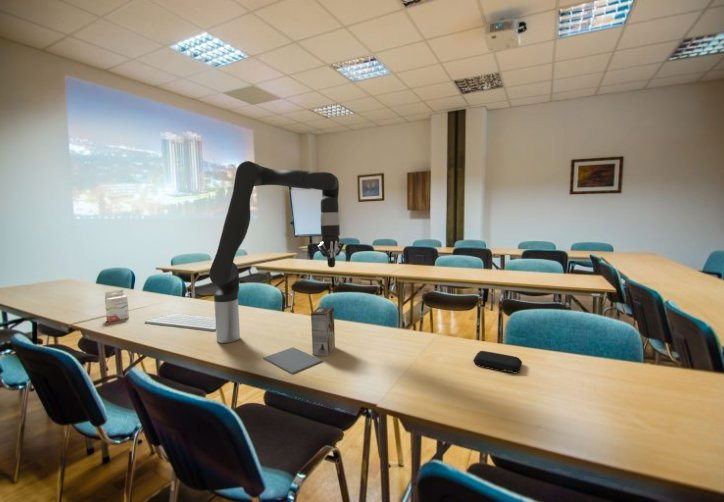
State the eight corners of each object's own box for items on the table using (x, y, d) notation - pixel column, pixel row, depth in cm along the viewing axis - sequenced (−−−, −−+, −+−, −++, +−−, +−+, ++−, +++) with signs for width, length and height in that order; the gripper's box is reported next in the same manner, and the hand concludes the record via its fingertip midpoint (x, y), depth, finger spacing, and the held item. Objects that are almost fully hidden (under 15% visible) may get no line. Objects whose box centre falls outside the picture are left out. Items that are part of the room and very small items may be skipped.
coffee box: (319, 345, 135) (318, 306, 134) (335, 346, 134) (334, 307, 132) (312, 355, 126) (310, 313, 125) (328, 356, 125) (327, 313, 123)
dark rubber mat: (263, 358, 124) (263, 357, 124) (293, 348, 133) (293, 347, 133) (292, 374, 111) (292, 372, 111) (322, 361, 121) (322, 360, 121)
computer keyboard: (240, 321, 171) (240, 318, 170) (212, 333, 153) (212, 330, 153) (176, 313, 185) (176, 310, 185) (144, 324, 168) (143, 321, 168)
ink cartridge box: (110, 322, 170) (107, 293, 169) (106, 320, 173) (103, 292, 172) (129, 317, 177) (127, 290, 176) (125, 316, 180) (123, 289, 179)
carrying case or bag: (471, 368, 115) (519, 377, 107) (471, 359, 114) (519, 368, 107) (478, 356, 124) (522, 364, 116) (478, 348, 124) (522, 356, 116)
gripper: (336, 223, 143) (337, 264, 145) (311, 224, 133) (312, 268, 135) (348, 223, 138) (349, 265, 139) (323, 224, 128) (325, 270, 130)
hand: (331, 267), depth 137 cm, fingers closed
